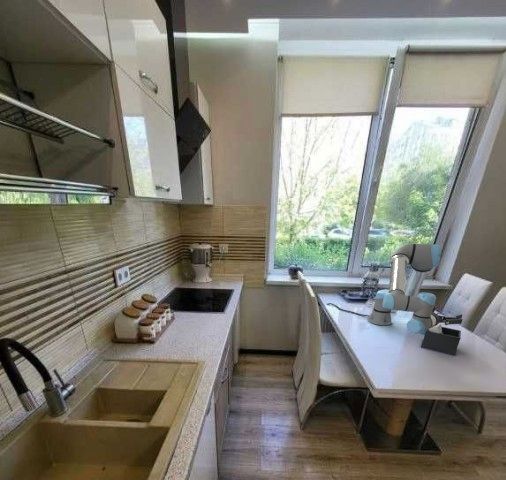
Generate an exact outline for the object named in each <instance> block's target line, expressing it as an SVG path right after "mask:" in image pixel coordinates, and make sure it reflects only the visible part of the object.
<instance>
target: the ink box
mask: <svg viewBox="0 0 506 480" xmlns="http://www.w3.org/2000/svg"><path fill="white" fill-rule="evenodd" d="M442 327H443V326H442V323H439V324H438V325H436V326H434V327H432V328H429V329H428V330H429V331H431V332H436V333H440V334H443V333H442Z"/></svg>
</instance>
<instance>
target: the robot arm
mask: <svg viewBox="0 0 506 480" xmlns="http://www.w3.org/2000/svg"><path fill="white" fill-rule="evenodd" d="M441 253H442V247H441V246H440V245H439V244H433V243H413V242H409V243H403V244H402V245H400V246H398V247H397V248H396V249H395V250H394V251H393V252H392V253H391V255H390V258H389V266H390V272H389V273H390V274H389V283H388V289H380V290H378V291H376V295H375V296H374V297H375V300H374V303H373V309H372V311H371V313H370V314H362V313H358V312H356V311H355V312H354V311H351V310H347V309H343V308H341V307H339V306H338V305H337V304H334V303H332V302H329V303H326V305H331V306H334V307H336V308H337V309H338V310H340V311H344V312H347V313H352V314H355V315H358V316H363V317H368V319H367V320H368V322H369V323H371V324H373V325H376V326H384V327H385V326H390V325H391V324H392V310H393V311H401V312H407V313H409V312H410V313H412V318H411V319H409V320H408V321H407V323H406V329H407V331H408V332H409V333H411V334H415V335H416V334H421V332H423V331H425V330H427V329H429V328H432V327H434V326H436V325H438V324H439V323H441V324H444V325H445V326H448V325H461V324H462V322H463V320H464V319H463V314H461V313H460V314H459V315H456V316H455V317H454V316H445V315H441V314H438V315H437V313H436V312H435V311H436V306H435V305H436V300H437V296H436V295H435V294H433V293H431V292H423V291H422V292H420V290H421V288H422V285H423V283H424V281H425V279H426V277H427V274H428V272H430V271H432V270H433V268H436V267H438V266H439V265H440V261H441ZM407 266H410V268H411V270H410V272H409V275H408V277H407V268H408V267H407Z"/></svg>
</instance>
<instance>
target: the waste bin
mask: <svg viewBox="0 0 506 480" xmlns="http://www.w3.org/2000/svg"><path fill="white" fill-rule="evenodd" d="M441 327H442V333H443V334H440V333H436V332H431V331H429V330H428V329H427V330H426V332H425V335H424V334H423V339H422V343H421V346H420V348H422V349H425V350H430V351H434V352H438V353H442V354H447V355H449V356H455V355H456V352H457V349H458V347H459V344H460V341H461V339H462V330H460V329H455V328H449V327H445V326H441Z"/></svg>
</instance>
